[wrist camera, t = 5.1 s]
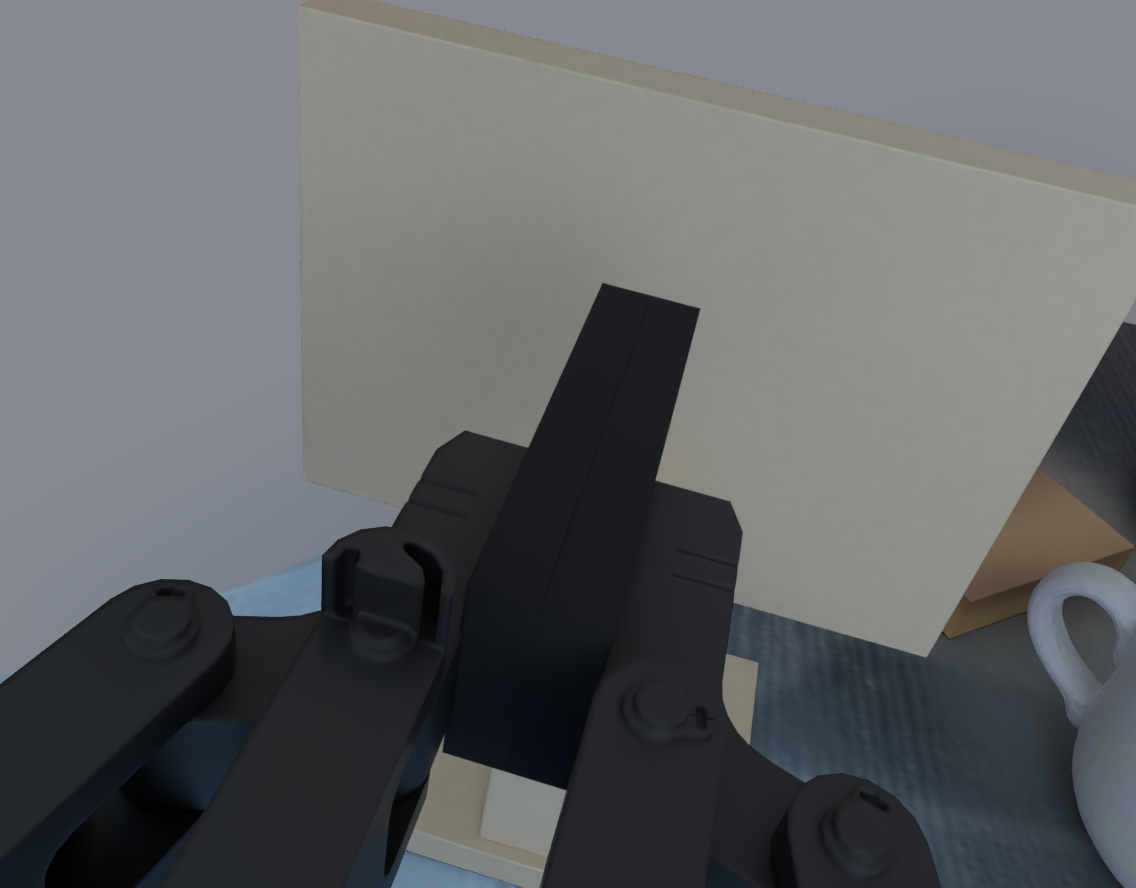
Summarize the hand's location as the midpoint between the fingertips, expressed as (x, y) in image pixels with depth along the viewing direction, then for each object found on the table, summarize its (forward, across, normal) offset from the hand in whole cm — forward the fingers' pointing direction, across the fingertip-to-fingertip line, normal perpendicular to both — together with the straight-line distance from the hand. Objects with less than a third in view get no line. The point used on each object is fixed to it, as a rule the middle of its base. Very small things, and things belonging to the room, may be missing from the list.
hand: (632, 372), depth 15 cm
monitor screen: (+6, 0, -11) cm, 12 cm away
